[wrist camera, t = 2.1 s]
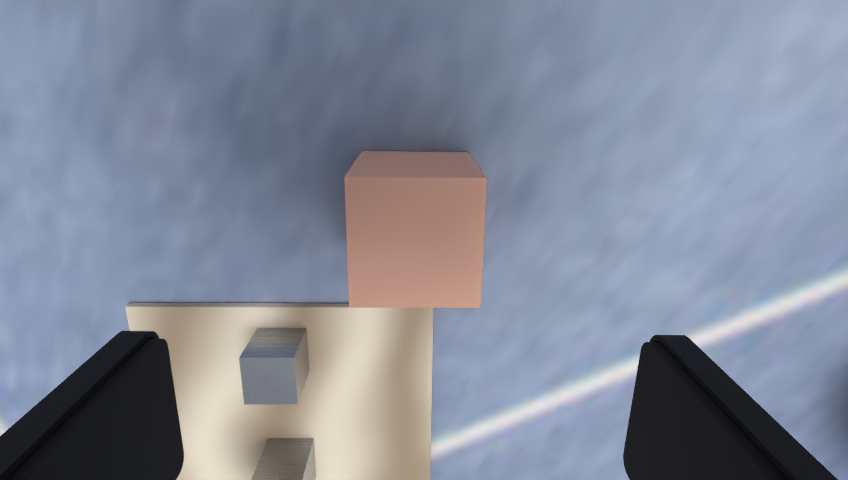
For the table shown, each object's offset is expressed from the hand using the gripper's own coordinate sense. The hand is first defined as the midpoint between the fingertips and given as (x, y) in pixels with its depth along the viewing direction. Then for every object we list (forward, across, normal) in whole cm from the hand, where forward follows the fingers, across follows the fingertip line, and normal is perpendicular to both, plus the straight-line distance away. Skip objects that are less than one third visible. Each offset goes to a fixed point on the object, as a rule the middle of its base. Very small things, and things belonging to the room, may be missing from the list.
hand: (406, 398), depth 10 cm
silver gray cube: (+16, +7, +8) cm, 19 cm away
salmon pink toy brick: (+16, 0, 0) cm, 16 cm away
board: (+16, +7, +12) cm, 21 cm away
